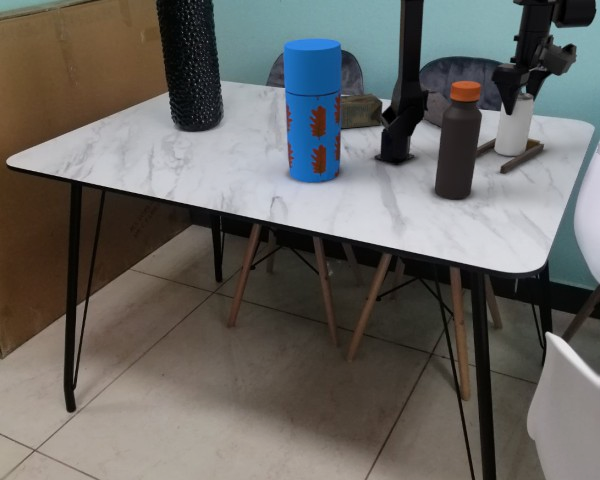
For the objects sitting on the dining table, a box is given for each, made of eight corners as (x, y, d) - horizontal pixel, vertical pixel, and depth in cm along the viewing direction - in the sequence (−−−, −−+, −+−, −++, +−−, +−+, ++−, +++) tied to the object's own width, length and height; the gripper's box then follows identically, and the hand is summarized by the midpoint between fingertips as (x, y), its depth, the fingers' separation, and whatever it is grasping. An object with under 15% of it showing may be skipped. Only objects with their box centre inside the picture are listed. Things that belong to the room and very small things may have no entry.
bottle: (477, 191, 109) (494, 83, 98) (458, 203, 106) (473, 92, 94) (446, 182, 113) (459, 77, 102) (427, 193, 110) (438, 85, 98)
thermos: (347, 166, 122) (350, 40, 107) (328, 185, 114) (328, 52, 99) (301, 160, 126) (297, 37, 111) (279, 178, 118) (272, 48, 103)
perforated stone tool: (458, 130, 138) (462, 101, 134) (438, 133, 137) (441, 103, 133) (431, 112, 150) (434, 85, 146) (413, 115, 149) (415, 87, 145)
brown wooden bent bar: (504, 173, 116) (506, 164, 115) (461, 161, 122) (462, 152, 121) (542, 150, 126) (544, 141, 125) (501, 140, 132) (502, 132, 130)
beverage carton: (382, 125, 143) (384, 98, 139) (308, 133, 140) (307, 106, 136) (373, 116, 149) (374, 90, 145) (301, 123, 146) (300, 97, 142)
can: (518, 159, 122) (529, 102, 115) (489, 153, 125) (498, 97, 119) (529, 150, 126) (540, 94, 119) (500, 144, 130) (510, 90, 123)
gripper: (553, 42, 102) (535, 128, 111) (595, 26, 113) (576, 106, 121) (496, 35, 108) (483, 117, 117) (541, 21, 119) (526, 97, 128)
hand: (519, 109), depth 121 cm, fingers open, 9 cm apart
